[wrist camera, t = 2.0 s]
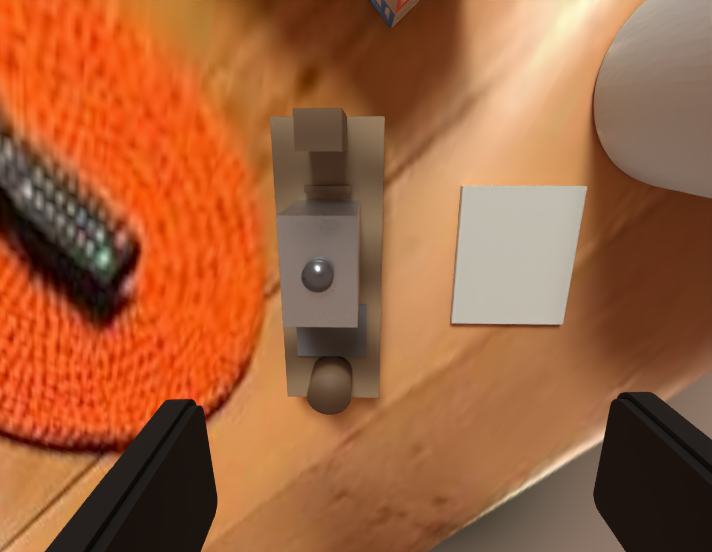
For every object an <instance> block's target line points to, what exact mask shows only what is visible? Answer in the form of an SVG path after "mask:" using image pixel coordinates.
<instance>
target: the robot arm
mask: <svg viewBox="0 0 712 552" xmlns="http://www.w3.org/2000/svg"><path fill="white" fill-rule="evenodd" d="M593 496H594V502H595V505H596V507H597V509H598V511H599V513H600V514H601V516H602V517H603V519H604V520H605V522H606V523H607V524H608V526H609V527H610V529H611V530H612V532H613V533H614V535H615V536H616V538H617V539H618V541H619V542H620V544H621V545H622V547H623V548H624V550H625V551H626V552H712V440H711V439H710V438H709V437H708V436H706V435H705V434H704V433H703V432H701V431H700V430H699V429H697V428H696V427H695V426H694V425H693V424H691V423H690V422H689V421H688V420H686V419H685V418H684V417H683V416H681V415H680V414H679V413H678V412H676V411H675V410H674V409H673V408H671V407H670V406H669V405H668V404H666V403H665V402H664V401H663V400H661V399H660V398H659V397H658V396H656V395H655V394H653V393H651V392H623V393H620V395H619V396H618V397H617V399H615V400H613V401H612V402H611V405H610V410H609V415H608V420H607V425H606V431H605V436H604V441H603V446H602V451H601V456H600V461H599V467H598V472H597V477H596V482H595V487H594V493H593ZM216 509H217V492H216V485H215V479H214V473H213V467H212V460H211V454H210V448H209V441H208V435H207V429H206V422H205V416H204V411H203V408H202V406H196V403H195V401H194V400H192V399H174V400H166V401H165V402H164V403H163V404H162V405H161V406H160V408H159V409H158V410H157V411H156V413H155V414H154V415H153V416H152V418H151V419H150V420H149V421H148V423H147V424H146V425H145V426H144V428H143V429H142V430H141V432H140V433H139V434H138V435H137V437H136V438H135V439H134V440H133V442H132V443H131V444H130V445H129V447H128V448H127V449H126V450H125V452H124V453H123V454H122V456H121V457H120V458H119V459H118V461H117V462H116V463H115V464H114V466H113V467H112V468H111V469H110V470H109V471H108V473H107V474H106V475H105V476H104V478H103V479H102V480H101V481H100V483H99V484H98V485H97V486H96V488H95V489H94V490H93V492H92V493H91V494H90V495H89V497H88V498H87V499H86V500H85V502H84V503H83V504H82V505H81V507H80V508H79V509H78V510H77V512H76V513H75V514H74V515H73V517H72V518H71V519H70V521H69V522H68V523H67V524H66V526H65V527H64V528H63V529H62V531H61V532H60V533H59V534H58V536H57V537H56V538H55V539H54V541H53V542H52V543H51V544H50V546H49V547H48V548H47V550H46V551H45V552H201V549H202V547H203V544H204V542H205V539H206V537H207V534H208V532H209V529H210V527H211V524H212V522H213V519H214V517H215V514H216Z"/></svg>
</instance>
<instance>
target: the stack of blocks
mask: <svg viewBox="0 0 712 552" xmlns="http://www.w3.org/2000/svg"><path fill="white" fill-rule="evenodd" d="M369 1H370V2H371V3H372V5H373V6H374V7H375V9H376V10H377V11H378V13H379V14H380V15H381V17H382V18H383V19H384V20H385V22H386V23H387V24H388V26H389V27H390V28H393V27H394V26H395V25H396V24H397V23H398V21H399V20H400V19H401V18H402V17H404V16H405V15H406V14H407V13H408V12H409V11H410V10H411V9H412V8H413V7H414V6H415V5H416V4H417V3H418V2H419V1H420V0H369Z"/></svg>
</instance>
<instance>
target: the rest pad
mask: <svg viewBox="0 0 712 552" xmlns="http://www.w3.org/2000/svg"><path fill="white" fill-rule="evenodd" d="M586 191H587V186H461V192H460V205H459V217H458V229H457V242H456V254H455V266H454V279H453V291H452V303H451V316H450V321H451V323H469V324H563V320H564V314H565V309H566V303H567V298H568V292H569V286H570V281H571V275H572V270H573V264H574V259H575V253H576V247H577V242H578V236H579V231H580V225H581V219H582V214H583V208H584V203H585V197H586Z"/></svg>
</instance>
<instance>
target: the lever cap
mask: <svg viewBox="0 0 712 552" xmlns="http://www.w3.org/2000/svg"><path fill="white" fill-rule="evenodd" d="M276 220H277V236H278V252H279V267H280V283H281V299H282V314H283V327H355V328H357V326H358V307H359V288H360V200H349V199H298V200H297V201H295V202H294V203H293V204H291V205H290V206H289V207H287V208H286V209H284V210H283V211H282V212H280V213H279V214H278V215H276Z"/></svg>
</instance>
